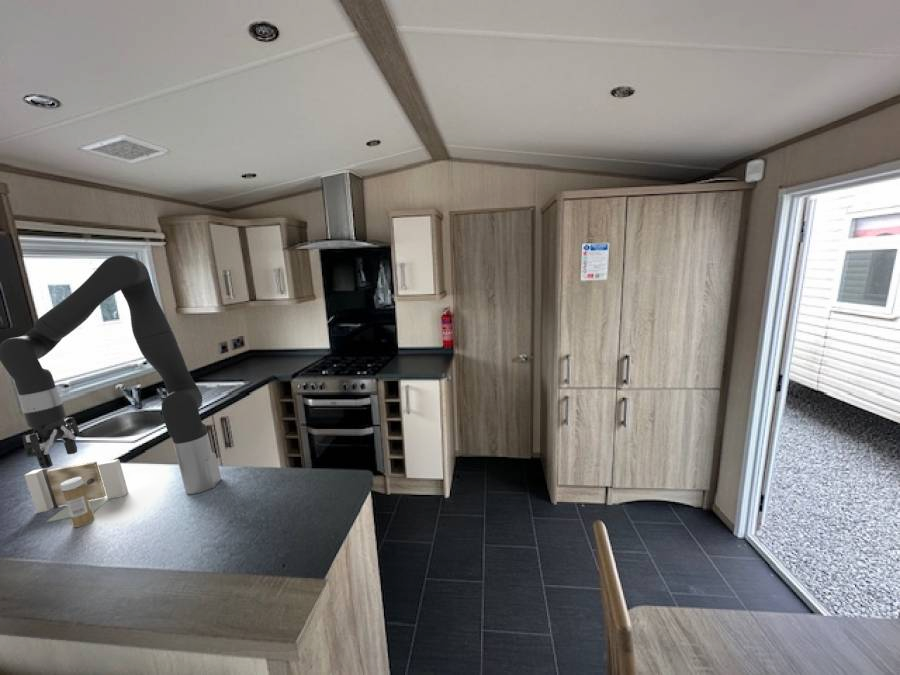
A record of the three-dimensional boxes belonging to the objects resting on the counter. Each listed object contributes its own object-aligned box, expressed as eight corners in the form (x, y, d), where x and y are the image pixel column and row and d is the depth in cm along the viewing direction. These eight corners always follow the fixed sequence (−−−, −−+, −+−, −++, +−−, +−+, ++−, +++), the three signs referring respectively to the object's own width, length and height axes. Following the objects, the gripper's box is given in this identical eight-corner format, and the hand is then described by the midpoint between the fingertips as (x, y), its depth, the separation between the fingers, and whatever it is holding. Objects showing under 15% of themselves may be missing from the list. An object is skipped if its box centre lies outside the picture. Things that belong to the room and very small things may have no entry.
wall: (128, 492, 123) (119, 459, 121) (124, 495, 121) (114, 461, 119) (112, 495, 122) (102, 461, 120) (107, 499, 120) (97, 464, 118)
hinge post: (55, 505, 120) (44, 468, 118) (47, 511, 117) (35, 473, 115) (44, 507, 120) (33, 470, 117) (36, 513, 117) (24, 475, 114)
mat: (110, 498, 121) (110, 497, 121) (92, 513, 113) (92, 512, 113) (68, 506, 119) (68, 505, 118) (46, 522, 111) (46, 521, 111)
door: (106, 496, 122) (96, 460, 120) (101, 501, 119) (90, 463, 117) (56, 506, 119) (44, 469, 117) (49, 510, 117) (37, 472, 115)
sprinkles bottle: (97, 515, 111) (85, 474, 109) (89, 524, 107) (76, 482, 105) (78, 520, 110) (65, 479, 107) (69, 530, 105) (55, 486, 103)
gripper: (35, 412, 97) (54, 469, 100) (78, 396, 111) (94, 446, 114) (1, 418, 96) (22, 475, 99) (49, 401, 110) (66, 451, 113)
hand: (60, 460), depth 106 cm, fingers open, 8 cm apart
